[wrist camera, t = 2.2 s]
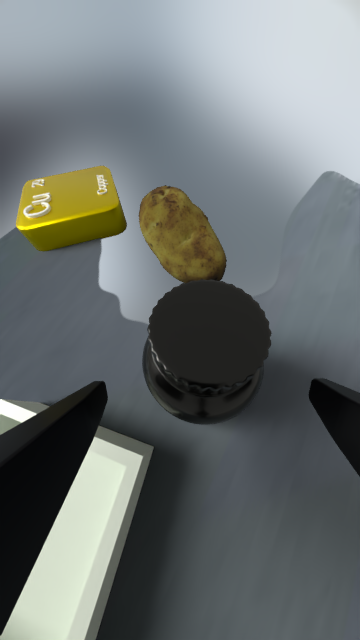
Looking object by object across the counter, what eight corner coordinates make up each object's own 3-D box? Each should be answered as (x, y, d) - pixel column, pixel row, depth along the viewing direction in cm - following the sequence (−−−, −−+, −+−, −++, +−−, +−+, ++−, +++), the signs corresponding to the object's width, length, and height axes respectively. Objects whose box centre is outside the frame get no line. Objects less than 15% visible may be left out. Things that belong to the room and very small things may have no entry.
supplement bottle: (236, 422, 15) (337, 435, 5) (159, 421, 16) (98, 432, 5) (227, 347, 19) (275, 259, 8) (163, 348, 19) (130, 263, 9)
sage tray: (77, 700, 10) (12, 864, 6) (-76, 591, 12) (-189, 665, 8) (154, 446, 15) (143, 456, 11) (39, 402, 17) (0, 399, 13)
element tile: (129, 233, 29) (119, 202, 25) (36, 256, 28) (9, 228, 24) (116, 189, 36) (106, 160, 32) (41, 206, 35) (20, 177, 31)
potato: (166, 307, 22) (156, 254, 14) (142, 242, 28) (126, 182, 20) (228, 287, 23) (247, 229, 15) (192, 229, 29) (193, 168, 22)
